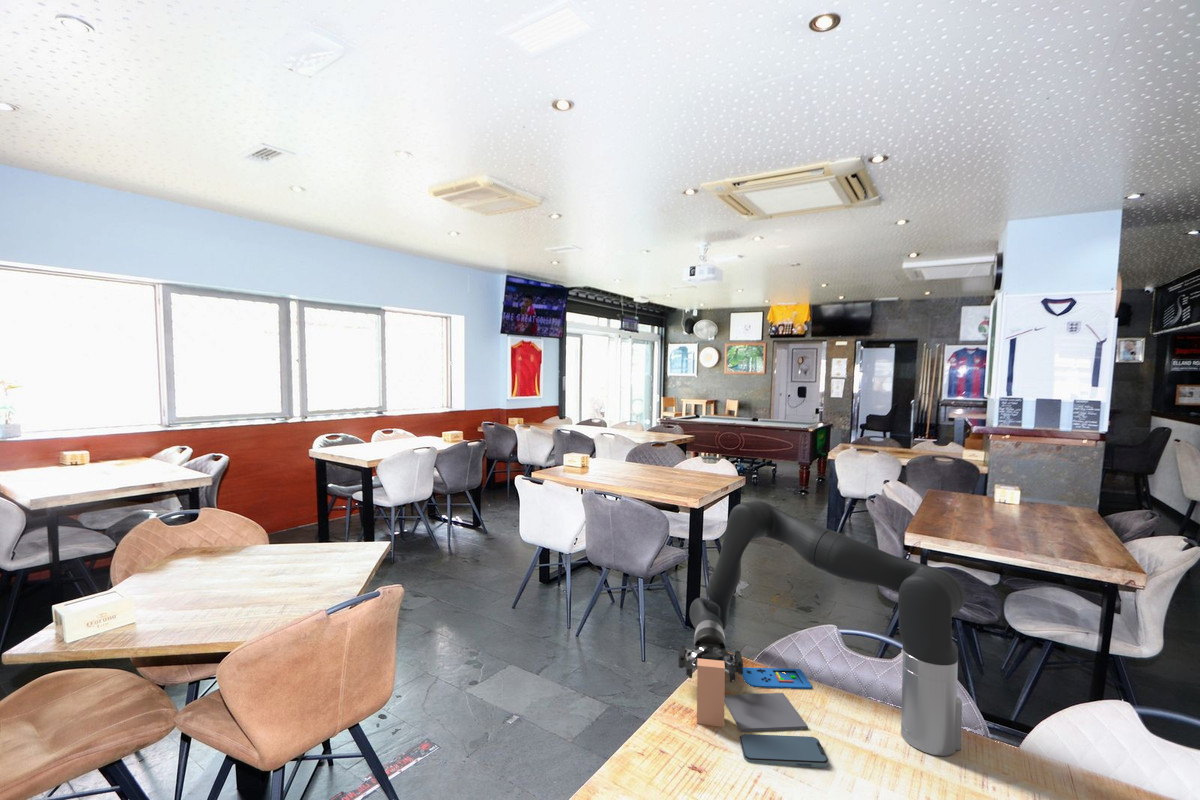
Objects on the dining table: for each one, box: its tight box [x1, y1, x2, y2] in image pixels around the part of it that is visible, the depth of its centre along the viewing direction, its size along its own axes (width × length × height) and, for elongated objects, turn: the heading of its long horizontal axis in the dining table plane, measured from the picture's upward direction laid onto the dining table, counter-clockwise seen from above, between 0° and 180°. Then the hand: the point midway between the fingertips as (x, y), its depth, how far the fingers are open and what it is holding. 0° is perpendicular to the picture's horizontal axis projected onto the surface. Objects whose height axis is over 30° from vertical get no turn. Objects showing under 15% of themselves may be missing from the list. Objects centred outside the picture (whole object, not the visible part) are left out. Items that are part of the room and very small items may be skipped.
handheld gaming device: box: [741, 666, 813, 690], centre depth 127 cm, size 8×1×15 cm
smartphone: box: [739, 733, 829, 769], centre depth 101 cm, size 8×2×15 cm
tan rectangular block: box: [696, 658, 726, 727], centre depth 110 cm, size 6×3×12 cm, turn 79°
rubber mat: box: [724, 692, 809, 733], centre depth 113 cm, size 14×12×1 cm
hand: (710, 676), depth 115 cm, fingers open, 8 cm apart
